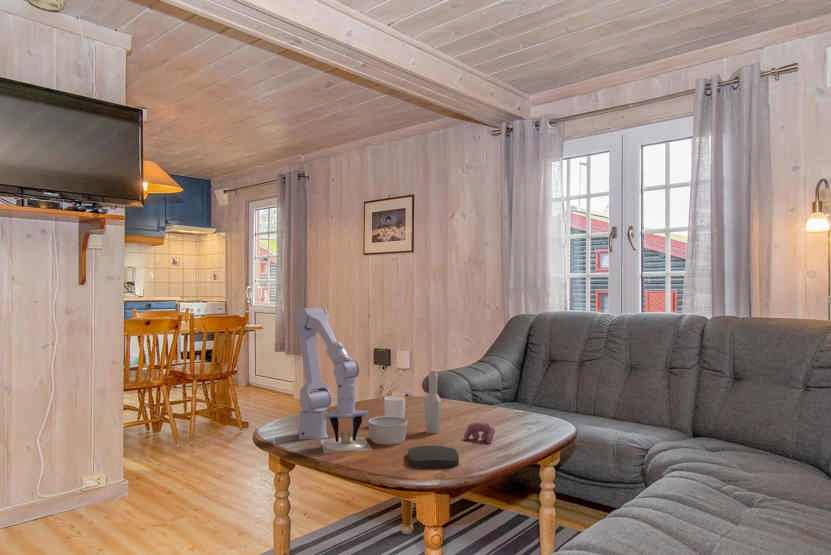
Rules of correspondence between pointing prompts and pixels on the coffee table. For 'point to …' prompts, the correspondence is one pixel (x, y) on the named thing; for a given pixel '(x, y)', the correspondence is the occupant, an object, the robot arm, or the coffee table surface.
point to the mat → (343, 451)
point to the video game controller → (480, 427)
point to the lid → (345, 443)
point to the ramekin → (387, 430)
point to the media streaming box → (433, 457)
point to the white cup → (394, 406)
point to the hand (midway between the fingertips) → (345, 440)
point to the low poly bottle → (432, 405)
